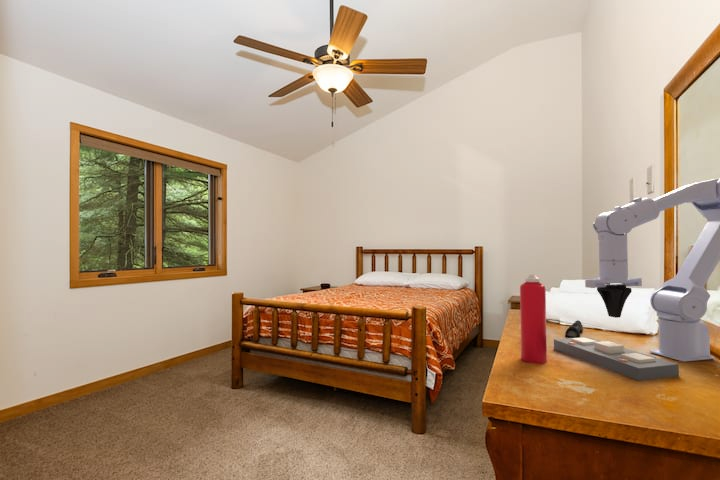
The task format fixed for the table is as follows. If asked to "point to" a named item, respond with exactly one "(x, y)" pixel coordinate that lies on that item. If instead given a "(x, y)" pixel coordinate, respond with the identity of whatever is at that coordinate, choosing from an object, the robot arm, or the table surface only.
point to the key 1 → (583, 341)
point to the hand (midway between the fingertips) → (614, 316)
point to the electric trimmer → (574, 330)
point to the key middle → (609, 347)
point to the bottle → (533, 321)
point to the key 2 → (638, 358)
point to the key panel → (619, 361)
